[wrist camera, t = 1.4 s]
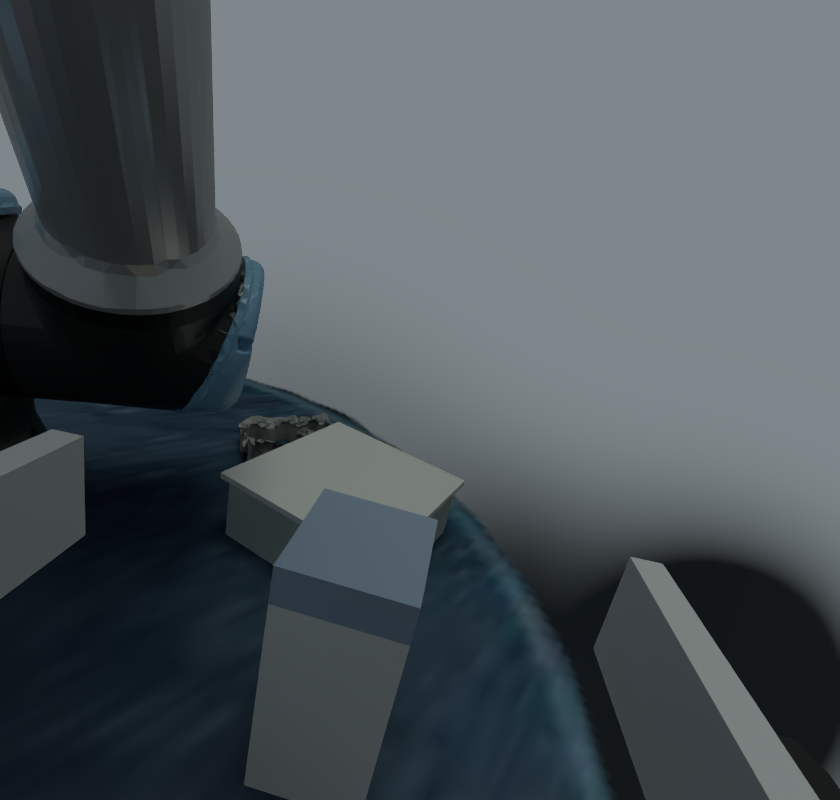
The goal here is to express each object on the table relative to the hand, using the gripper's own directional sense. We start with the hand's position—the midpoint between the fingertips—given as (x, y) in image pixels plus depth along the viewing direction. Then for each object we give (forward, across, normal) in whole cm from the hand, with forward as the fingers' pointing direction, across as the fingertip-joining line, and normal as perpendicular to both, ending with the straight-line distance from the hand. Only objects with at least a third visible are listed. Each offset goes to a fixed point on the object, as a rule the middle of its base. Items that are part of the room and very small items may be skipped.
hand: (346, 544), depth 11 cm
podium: (+27, -4, -19) cm, 33 cm away
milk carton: (+9, 0, -20) cm, 22 cm away
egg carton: (+38, -13, -18) cm, 45 cm away
